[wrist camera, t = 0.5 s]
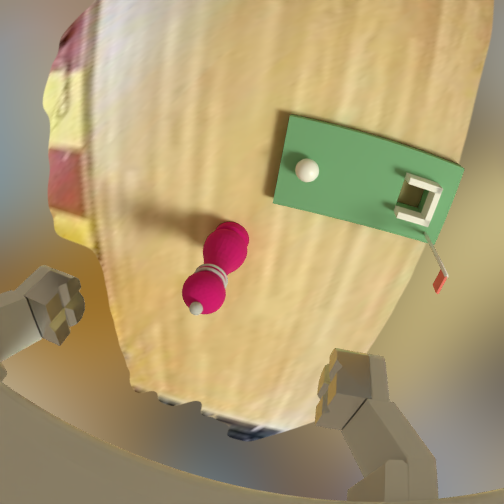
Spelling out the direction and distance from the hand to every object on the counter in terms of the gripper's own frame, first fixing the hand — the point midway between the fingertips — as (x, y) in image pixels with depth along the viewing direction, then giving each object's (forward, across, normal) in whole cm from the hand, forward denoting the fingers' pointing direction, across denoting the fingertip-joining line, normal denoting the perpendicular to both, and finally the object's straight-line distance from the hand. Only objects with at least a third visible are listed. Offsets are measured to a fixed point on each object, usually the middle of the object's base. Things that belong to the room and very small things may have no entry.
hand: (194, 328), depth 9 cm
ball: (+39, -3, +6) cm, 39 cm away
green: (+42, -13, +6) cm, 45 cm away
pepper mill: (+43, +7, +22) cm, 49 cm away
